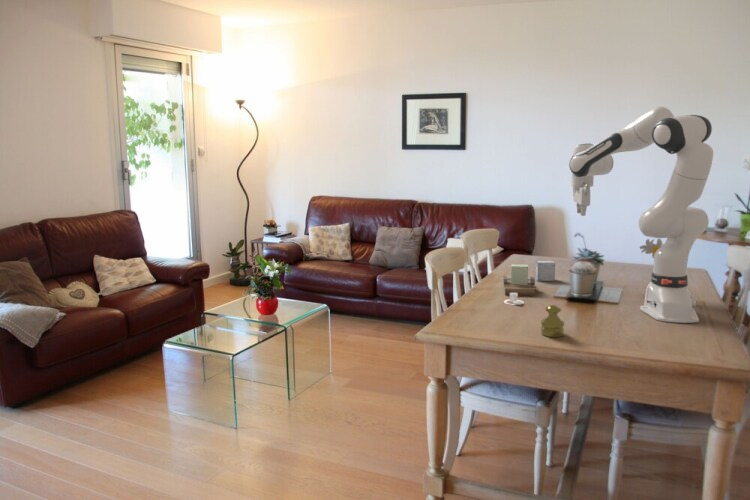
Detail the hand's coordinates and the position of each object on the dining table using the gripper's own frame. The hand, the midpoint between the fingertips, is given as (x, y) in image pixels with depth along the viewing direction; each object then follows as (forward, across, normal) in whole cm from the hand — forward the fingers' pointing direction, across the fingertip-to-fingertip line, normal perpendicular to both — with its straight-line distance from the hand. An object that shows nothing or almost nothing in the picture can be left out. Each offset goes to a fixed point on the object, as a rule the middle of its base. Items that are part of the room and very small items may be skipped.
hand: (581, 214), depth 250 cm
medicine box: (+32, +10, +13) cm, 36 cm away
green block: (+29, -10, +26) cm, 40 cm away
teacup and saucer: (+33, -31, +31) cm, 55 cm away
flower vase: (+32, -14, -30) cm, 46 cm away
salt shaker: (+33, -67, +19) cm, 77 cm away
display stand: (+32, -10, +26) cm, 42 cm away
